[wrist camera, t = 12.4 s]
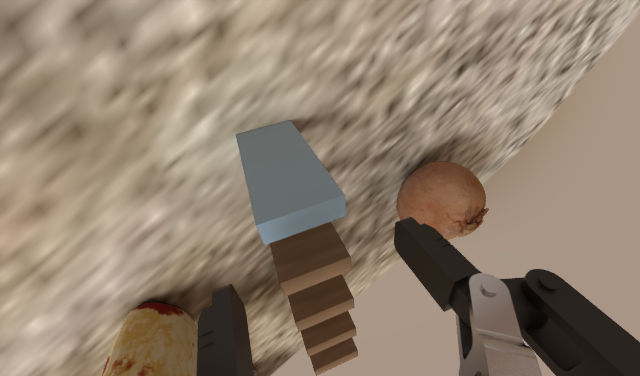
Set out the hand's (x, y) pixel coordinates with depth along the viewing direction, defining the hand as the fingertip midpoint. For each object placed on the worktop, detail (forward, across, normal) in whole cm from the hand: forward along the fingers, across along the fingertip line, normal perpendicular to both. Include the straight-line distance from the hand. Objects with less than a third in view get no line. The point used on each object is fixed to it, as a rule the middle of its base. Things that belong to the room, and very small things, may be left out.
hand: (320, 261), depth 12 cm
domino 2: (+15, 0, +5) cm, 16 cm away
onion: (+15, -17, +11) cm, 25 cm away
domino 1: (+15, 0, 0) cm, 15 cm away
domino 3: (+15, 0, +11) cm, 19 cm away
